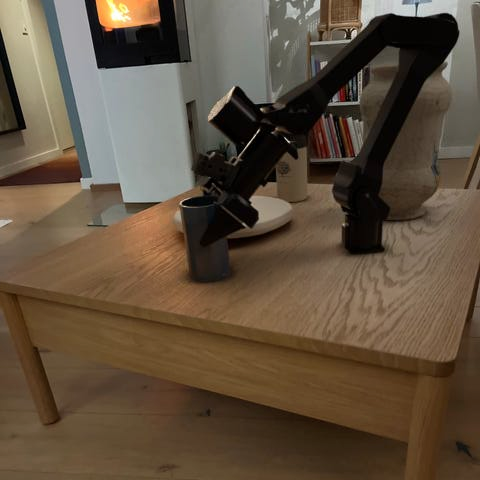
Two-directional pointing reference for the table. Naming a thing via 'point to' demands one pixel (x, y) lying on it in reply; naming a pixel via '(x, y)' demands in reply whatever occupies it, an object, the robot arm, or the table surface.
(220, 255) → the cup
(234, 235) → the plate
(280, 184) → the travel mug
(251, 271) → the table surface
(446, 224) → the table surface
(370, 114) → the vase
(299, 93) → the robot arm
